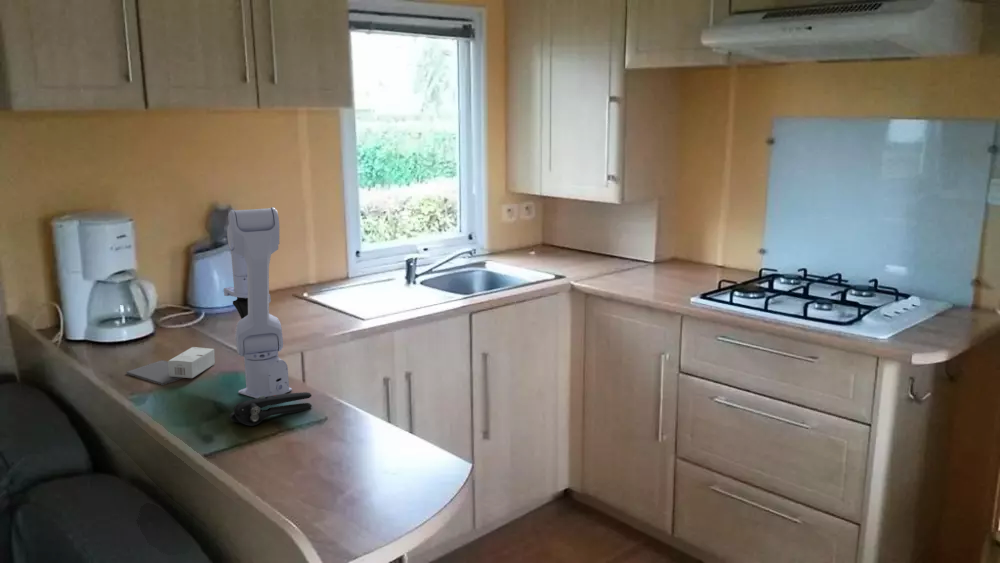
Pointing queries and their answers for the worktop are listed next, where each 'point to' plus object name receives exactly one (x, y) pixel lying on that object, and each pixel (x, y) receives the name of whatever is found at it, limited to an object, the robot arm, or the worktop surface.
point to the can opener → (254, 415)
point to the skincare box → (191, 362)
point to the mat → (154, 373)
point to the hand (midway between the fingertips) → (249, 327)
